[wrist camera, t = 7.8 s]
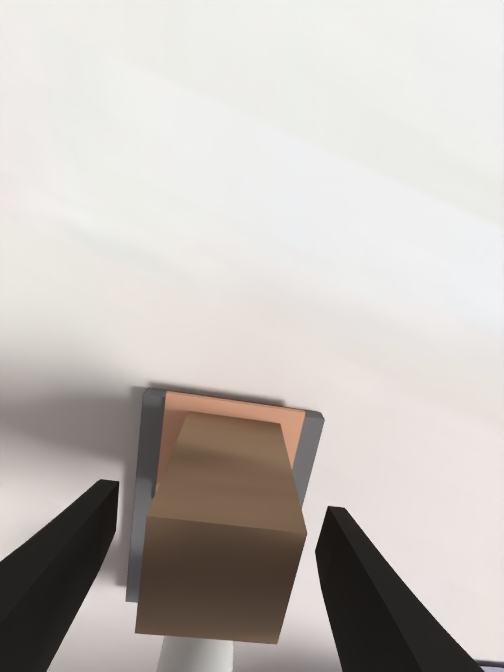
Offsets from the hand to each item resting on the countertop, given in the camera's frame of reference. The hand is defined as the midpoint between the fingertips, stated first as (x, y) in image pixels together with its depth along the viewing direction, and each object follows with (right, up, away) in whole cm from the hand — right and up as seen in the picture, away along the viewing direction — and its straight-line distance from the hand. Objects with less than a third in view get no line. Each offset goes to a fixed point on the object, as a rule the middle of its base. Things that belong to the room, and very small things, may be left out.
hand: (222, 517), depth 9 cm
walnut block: (0, +1, +3) cm, 3 cm away
